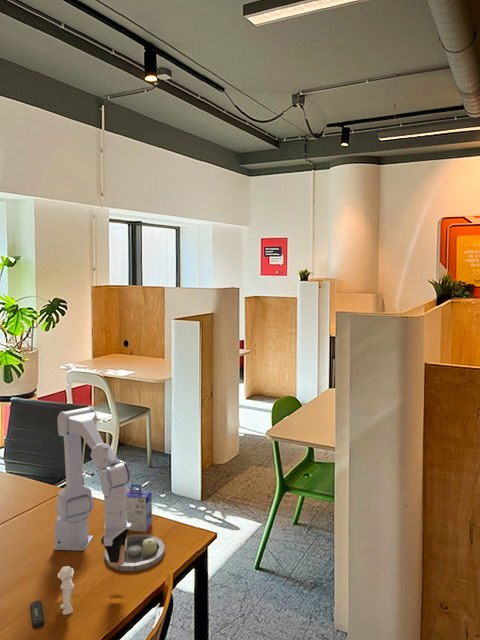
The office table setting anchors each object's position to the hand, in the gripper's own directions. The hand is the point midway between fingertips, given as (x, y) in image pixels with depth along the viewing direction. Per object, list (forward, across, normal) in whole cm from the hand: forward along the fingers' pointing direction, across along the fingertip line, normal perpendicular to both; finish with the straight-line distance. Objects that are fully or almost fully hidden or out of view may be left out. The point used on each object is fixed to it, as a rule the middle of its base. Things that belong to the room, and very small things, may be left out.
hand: (116, 556), depth 142 cm
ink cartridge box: (+9, +30, +3) cm, 31 cm away
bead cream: (+7, +14, +4) cm, 16 cm away
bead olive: (+7, +14, -6) cm, 17 cm away
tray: (+8, +14, -1) cm, 16 cm away
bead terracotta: (+2, 0, 0) cm, 2 cm away
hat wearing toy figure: (+9, -10, +10) cm, 17 cm away
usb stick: (+9, -13, +16) cm, 23 cm away
